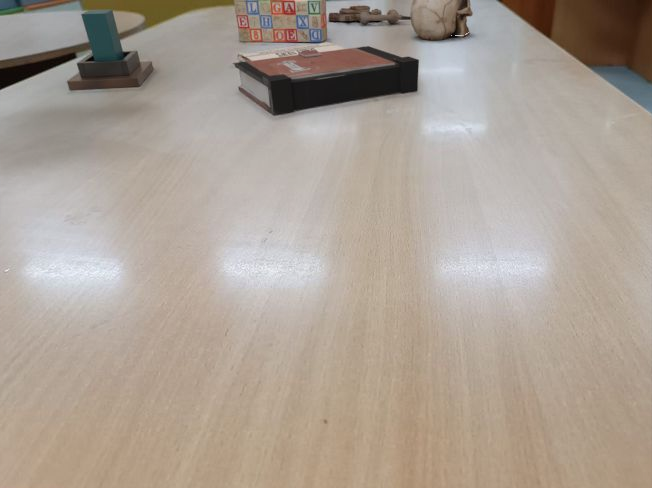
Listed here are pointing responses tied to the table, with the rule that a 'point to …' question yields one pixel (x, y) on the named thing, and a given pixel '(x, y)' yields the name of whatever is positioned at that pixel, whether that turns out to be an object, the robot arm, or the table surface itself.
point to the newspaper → (286, 51)
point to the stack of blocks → (281, 20)
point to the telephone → (366, 15)
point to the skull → (440, 18)
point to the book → (326, 78)
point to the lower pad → (110, 72)
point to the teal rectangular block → (103, 35)
